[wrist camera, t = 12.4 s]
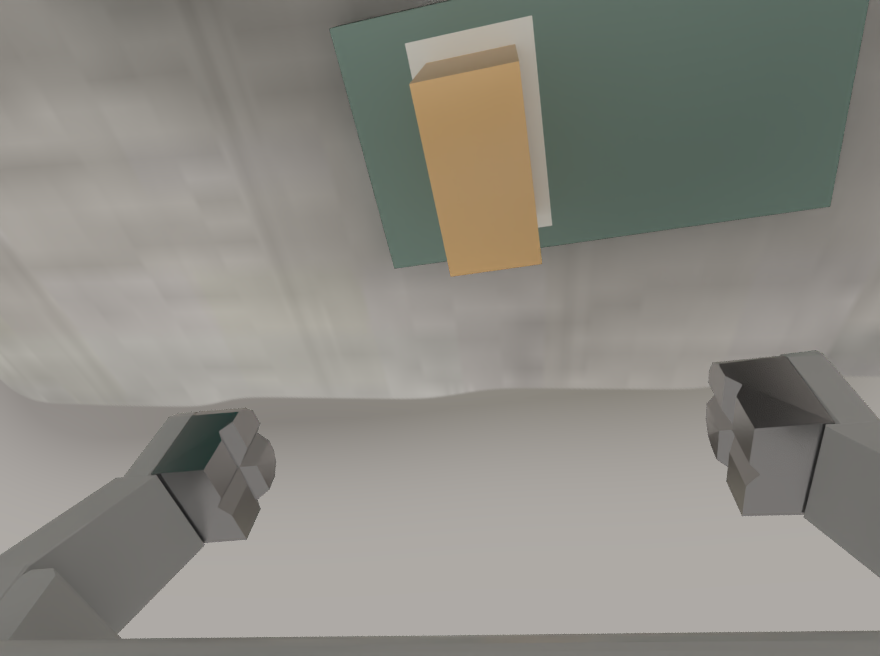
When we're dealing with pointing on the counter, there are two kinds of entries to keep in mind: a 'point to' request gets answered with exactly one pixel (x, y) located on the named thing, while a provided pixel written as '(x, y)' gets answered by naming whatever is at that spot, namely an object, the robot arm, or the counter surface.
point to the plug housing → (479, 159)
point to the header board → (620, 109)
